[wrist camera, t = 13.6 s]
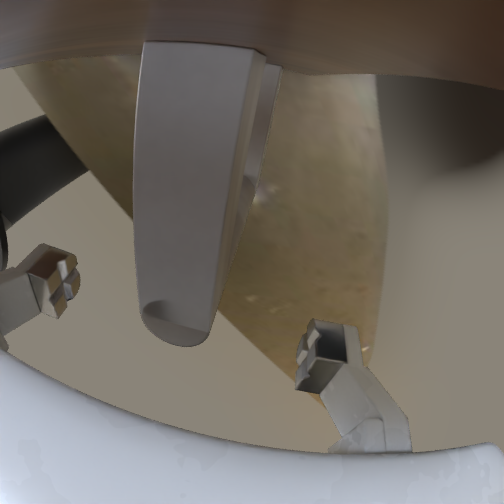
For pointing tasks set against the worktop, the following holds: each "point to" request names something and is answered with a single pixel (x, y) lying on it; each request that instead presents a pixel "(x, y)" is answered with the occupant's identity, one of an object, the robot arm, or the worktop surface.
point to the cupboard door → (233, 106)
